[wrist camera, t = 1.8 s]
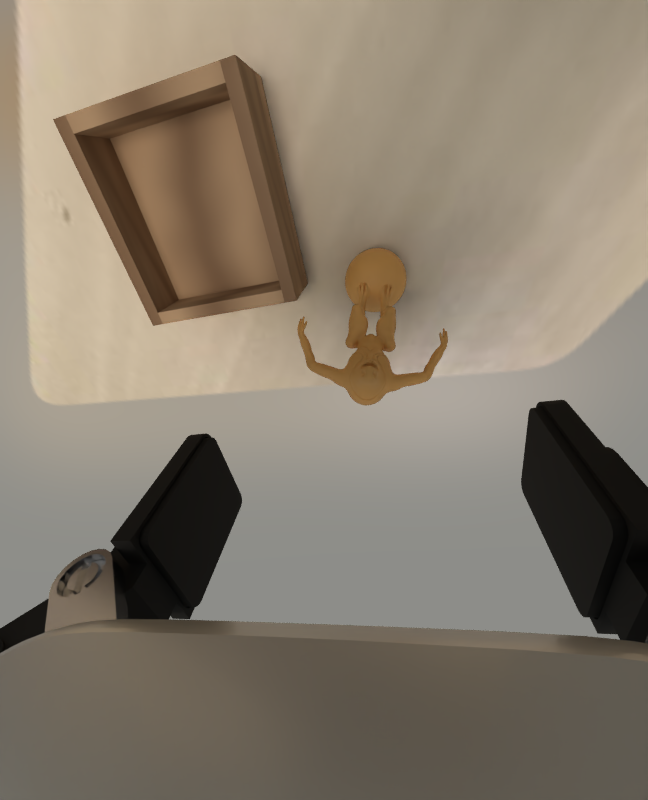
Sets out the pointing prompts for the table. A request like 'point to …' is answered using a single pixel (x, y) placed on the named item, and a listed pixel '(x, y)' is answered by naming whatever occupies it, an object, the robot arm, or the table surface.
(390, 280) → the figurine
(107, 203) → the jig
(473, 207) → the table surface
